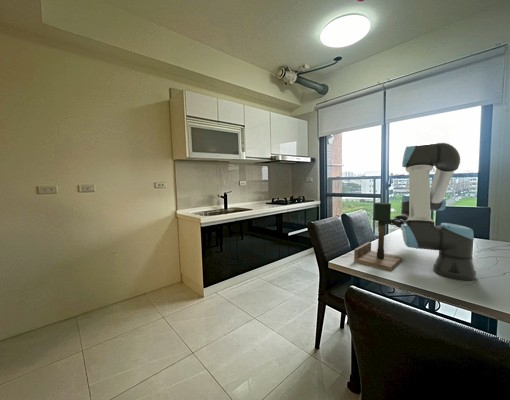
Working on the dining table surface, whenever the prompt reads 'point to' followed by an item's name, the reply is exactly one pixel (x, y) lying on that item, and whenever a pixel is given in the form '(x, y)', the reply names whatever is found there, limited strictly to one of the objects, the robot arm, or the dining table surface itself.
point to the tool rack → (375, 258)
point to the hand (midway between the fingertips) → (388, 225)
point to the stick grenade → (381, 224)
